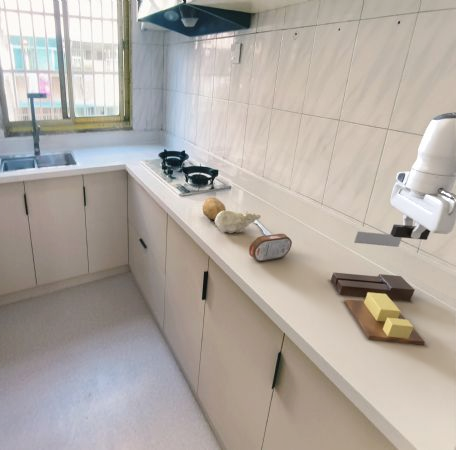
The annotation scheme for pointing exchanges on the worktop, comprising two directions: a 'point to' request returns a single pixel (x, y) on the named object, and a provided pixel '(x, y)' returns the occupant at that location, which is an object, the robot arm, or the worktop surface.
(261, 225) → the butter knife
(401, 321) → the butter pat
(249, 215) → the cream lumpy tapered piece
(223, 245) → the worktop surface
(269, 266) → the worktop surface
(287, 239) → the tin
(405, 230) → the knife
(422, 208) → the robot arm
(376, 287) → the knife stand
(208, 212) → the potato
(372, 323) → the board
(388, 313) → the butter
